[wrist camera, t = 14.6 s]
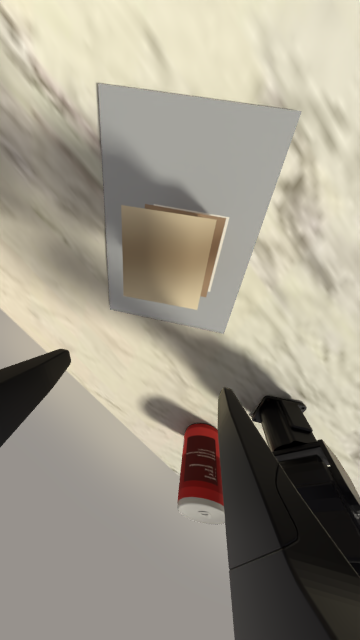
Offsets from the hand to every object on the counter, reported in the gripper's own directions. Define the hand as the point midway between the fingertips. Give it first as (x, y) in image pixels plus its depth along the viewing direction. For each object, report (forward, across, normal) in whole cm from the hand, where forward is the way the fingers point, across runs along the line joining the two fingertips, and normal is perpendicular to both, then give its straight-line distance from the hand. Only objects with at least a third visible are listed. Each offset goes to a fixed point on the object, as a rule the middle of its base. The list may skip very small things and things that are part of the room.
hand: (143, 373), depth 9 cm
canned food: (+13, -10, +28) cm, 33 cm away
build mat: (+13, +1, -7) cm, 15 cm away
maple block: (+7, 0, -6) cm, 9 cm away
